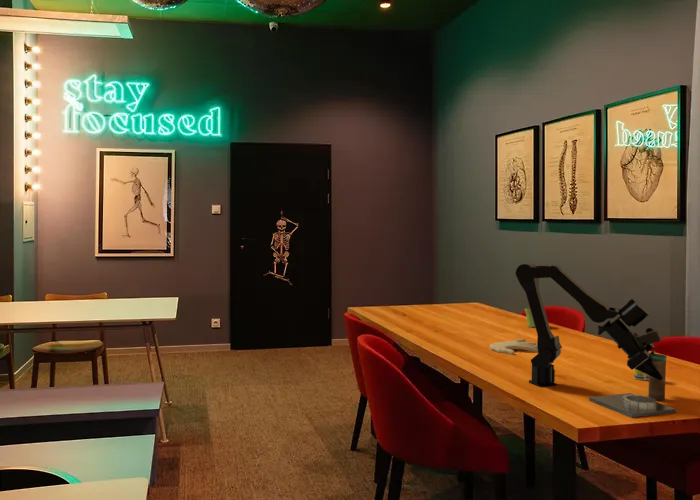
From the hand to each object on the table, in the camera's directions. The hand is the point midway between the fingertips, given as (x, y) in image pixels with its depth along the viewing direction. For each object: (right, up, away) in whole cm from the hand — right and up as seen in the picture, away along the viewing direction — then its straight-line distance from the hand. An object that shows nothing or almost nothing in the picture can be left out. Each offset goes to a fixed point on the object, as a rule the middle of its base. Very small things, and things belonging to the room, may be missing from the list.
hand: (662, 377), depth 189 cm
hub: (-12, -7, -7) cm, 16 cm away
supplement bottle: (+5, -6, +25) cm, 26 cm away
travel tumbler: (-1, -7, +1) cm, 7 cm away
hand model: (-25, -4, +71) cm, 75 cm away
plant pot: (-1, -1, +129) cm, 129 cm away
